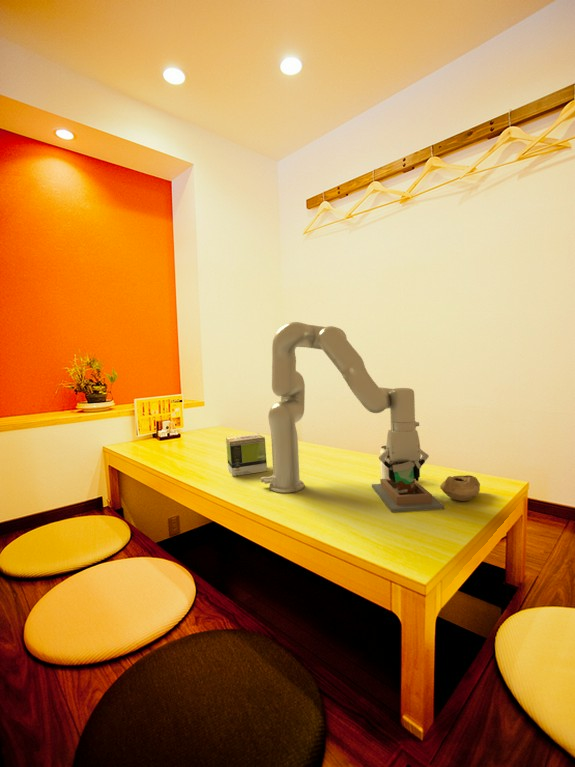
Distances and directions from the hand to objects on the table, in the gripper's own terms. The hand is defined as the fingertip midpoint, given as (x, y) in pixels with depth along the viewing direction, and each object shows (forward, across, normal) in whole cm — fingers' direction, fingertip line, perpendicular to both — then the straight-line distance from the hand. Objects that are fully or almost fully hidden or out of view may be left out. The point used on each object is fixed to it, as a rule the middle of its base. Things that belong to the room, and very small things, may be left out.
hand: (404, 479), depth 122 cm
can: (+6, -1, -19) cm, 20 cm away
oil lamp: (+6, -18, +3) cm, 19 cm away
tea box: (+6, +54, -39) cm, 67 cm away
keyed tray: (+6, 0, 0) cm, 6 cm away
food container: (+4, -2, 0) cm, 4 cm away
